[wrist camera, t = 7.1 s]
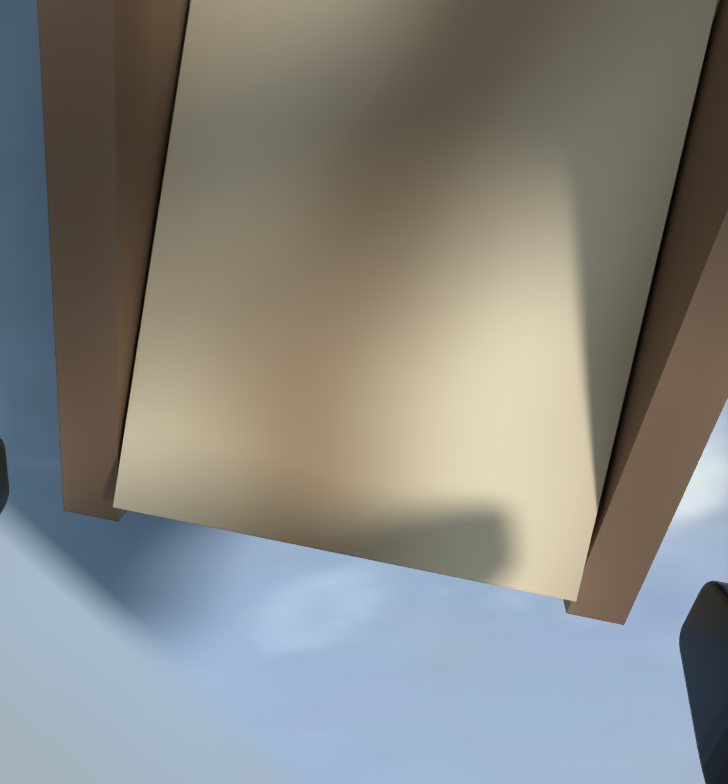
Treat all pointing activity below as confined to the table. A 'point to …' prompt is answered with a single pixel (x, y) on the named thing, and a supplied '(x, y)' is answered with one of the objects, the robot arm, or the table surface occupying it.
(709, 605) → the robot arm
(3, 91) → the table surface
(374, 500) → the brown wooden open box
